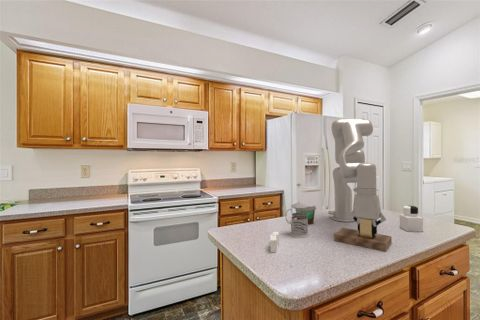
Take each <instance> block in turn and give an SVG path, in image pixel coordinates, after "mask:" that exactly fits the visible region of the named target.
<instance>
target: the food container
mask: <svg viewBox="0 0 480 320" xmlns="http://www.w3.org/2000/svg"><path fill="white" fill-rule="evenodd" d="M307 206H308V205H307ZM293 209H294V210H295V213H304V214H306V215H307V216H305V217H307V218H308V225H312V224H314V223H315V222H314V221H315V212H316V210H317V207H316V205H314V206H308V207H307V208H306V209H296V208H293ZM296 219H299V220H302V219H300V218H296ZM302 224H303V223H302Z"/></svg>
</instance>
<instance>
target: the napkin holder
mask: <svg viewBox="0 0 480 320" xmlns="http://www.w3.org/2000/svg"><path fill="white" fill-rule="evenodd" d="M269 237H270V238H269V239H270V240H269V241H270V246H269V247H270V253H271V252H278V251H277V250H278V249H277V248H279V245H280V244H279V243H280V242H279V238H280V236H279V232H278V231H272V234H270V236H269Z"/></svg>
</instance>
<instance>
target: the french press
mask: <svg viewBox="0 0 480 320" xmlns="http://www.w3.org/2000/svg"><path fill="white" fill-rule="evenodd" d="M296 186H297V187H301V186H302V185H301V183H298V182H297V184H296ZM290 207H291V208H289V209H287V210H286V212H285V214H284V215H285V220H286V222H287V224H289V225H291V226H290V229H291V230H290V232H289V235H290V236H291V237H293V238H294V237H295V238H308V237H310V236H311V234H310V233H309V231H308V230H309V228H308V227H309V224H308V218H307V217H305V216H307V215H306V214H304V213H296V212H293V213H292V209H294V208H296V209H306V208H307V207H308V205H307V204H305V203H301V202H296V203H293V204H292V205H291V206H290ZM296 209H295V210H296ZM289 211H290V212H291V213H292V214H291V218H290V219H291V222H290V221H288V219H287V213H288V212H289ZM297 218H300V219H302V220H299V219H297ZM302 223H303V224H302Z"/></svg>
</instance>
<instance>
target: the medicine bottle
mask: <svg viewBox="0 0 480 320" xmlns="http://www.w3.org/2000/svg"><path fill="white" fill-rule="evenodd" d="M402 209H403V210H402V211H403V213H400V214H399V228H400V229H401V230H404V231H406V232H409V233H411V232H412V233H423V232H424V227H423V226H424V224H423V223H424V220H423V219H424V218H423V217H421V216H419V207H418V206H415V205H404V206H403V208H402Z"/></svg>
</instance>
